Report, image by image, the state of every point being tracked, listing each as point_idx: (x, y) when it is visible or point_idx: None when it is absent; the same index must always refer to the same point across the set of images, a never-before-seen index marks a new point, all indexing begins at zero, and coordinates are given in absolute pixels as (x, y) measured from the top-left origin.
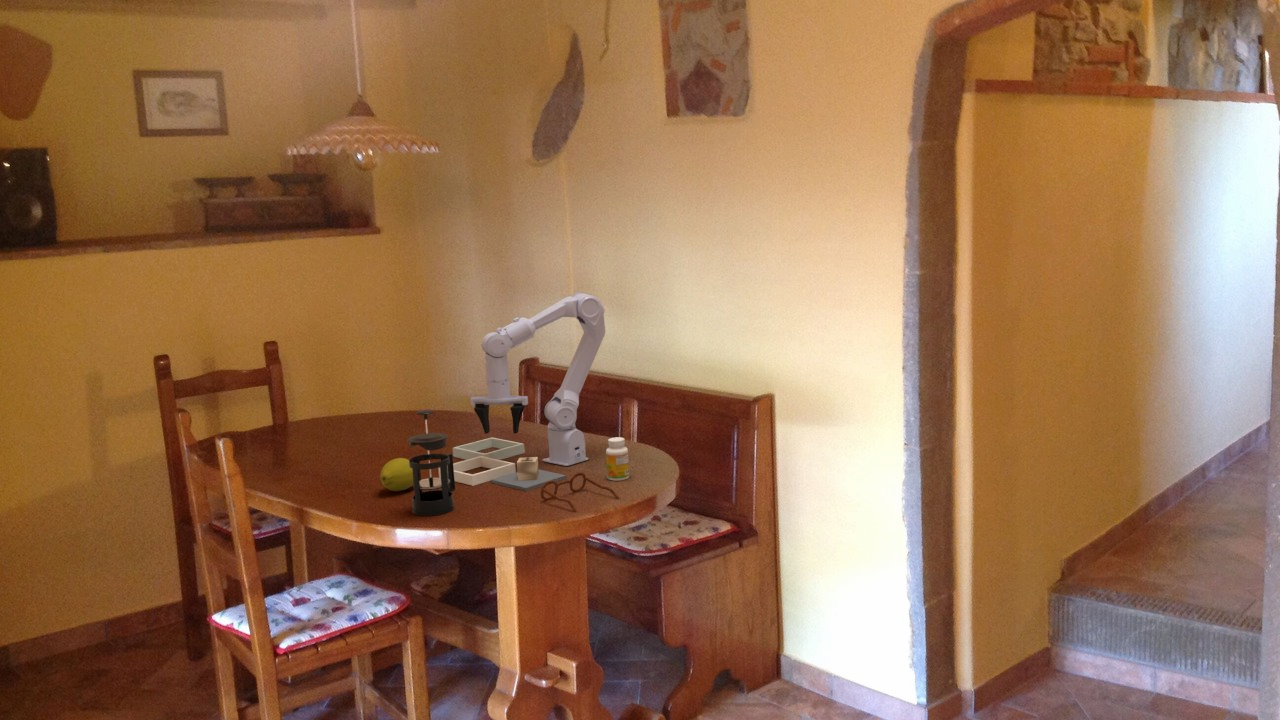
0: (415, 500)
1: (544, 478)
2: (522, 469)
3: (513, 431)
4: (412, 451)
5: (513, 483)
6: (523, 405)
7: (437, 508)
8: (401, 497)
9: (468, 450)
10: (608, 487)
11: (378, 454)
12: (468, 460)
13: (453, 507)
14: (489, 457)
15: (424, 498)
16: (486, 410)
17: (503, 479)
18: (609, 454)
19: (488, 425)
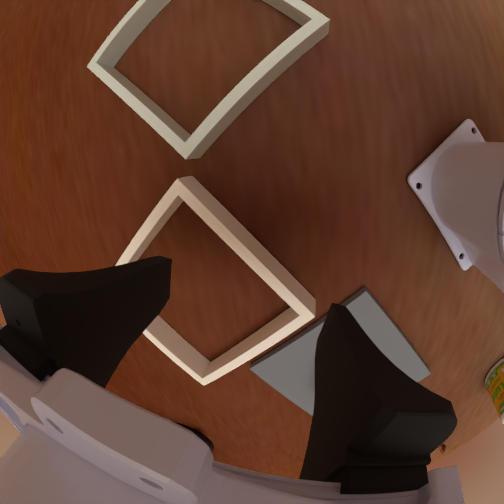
0: None
1: None
2: None
3: (316, 350)
4: (42, 45)
5: (306, 404)
6: (415, 467)
7: None
8: (112, 375)
9: (127, 95)
10: (442, 451)
11: (9, 79)
12: (149, 233)
13: (212, 449)
14: (207, 142)
15: None
16: (84, 346)
17: (282, 376)
18: (501, 420)
19: (150, 283)
